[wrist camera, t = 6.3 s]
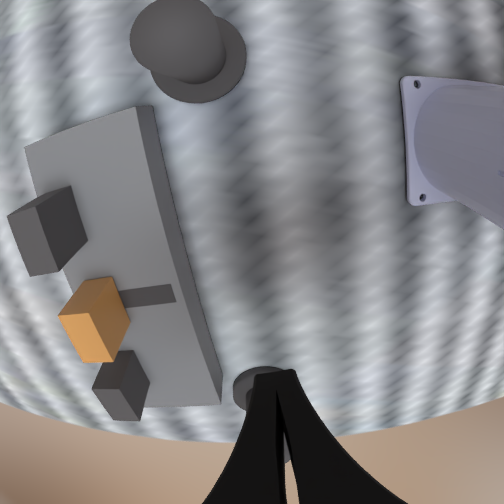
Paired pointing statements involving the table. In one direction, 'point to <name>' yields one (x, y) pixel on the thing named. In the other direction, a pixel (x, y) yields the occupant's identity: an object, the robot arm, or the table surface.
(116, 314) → the switch
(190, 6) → the grey disc-based knob
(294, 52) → the table surface
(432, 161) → the robot arm
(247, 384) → the post
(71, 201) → the box
